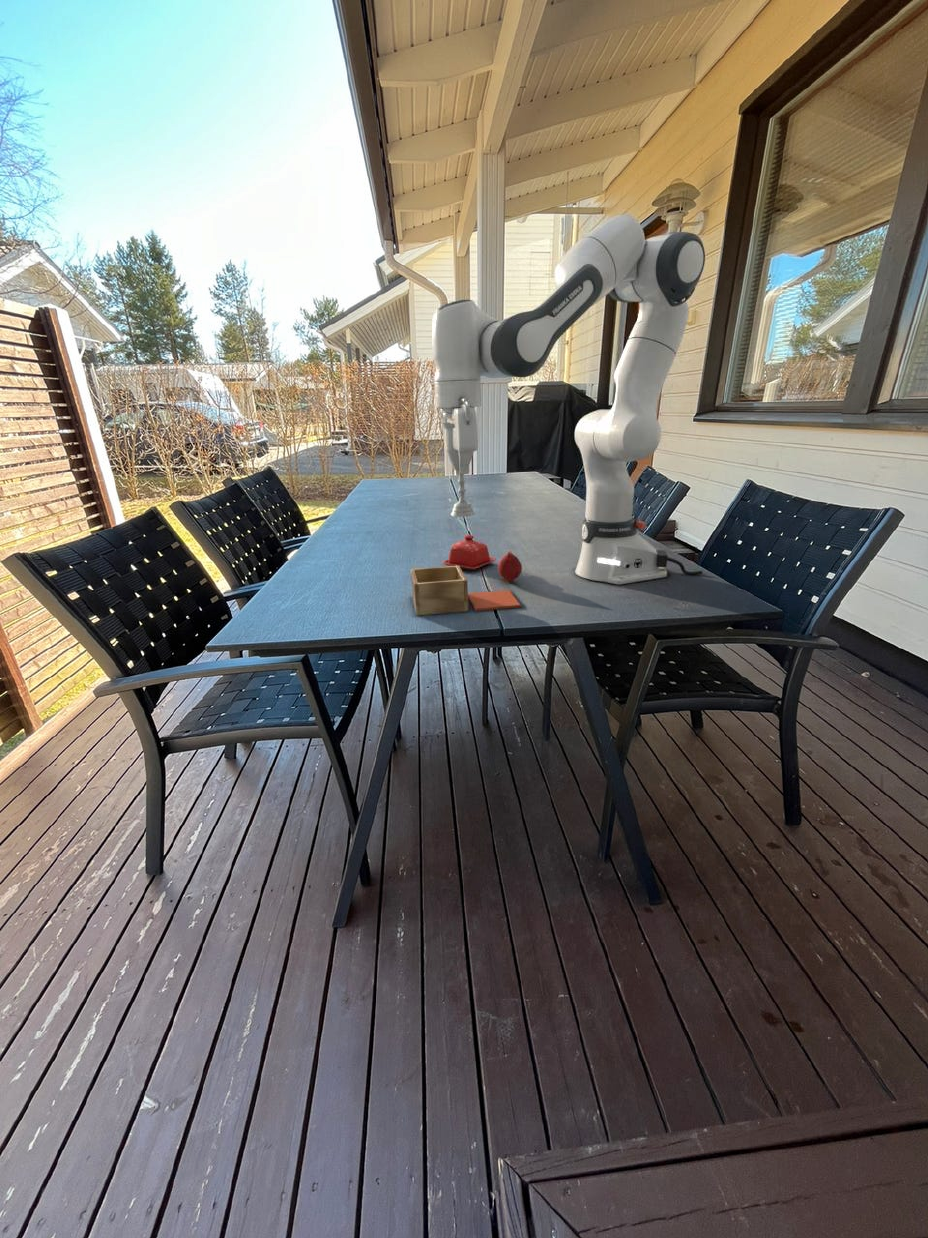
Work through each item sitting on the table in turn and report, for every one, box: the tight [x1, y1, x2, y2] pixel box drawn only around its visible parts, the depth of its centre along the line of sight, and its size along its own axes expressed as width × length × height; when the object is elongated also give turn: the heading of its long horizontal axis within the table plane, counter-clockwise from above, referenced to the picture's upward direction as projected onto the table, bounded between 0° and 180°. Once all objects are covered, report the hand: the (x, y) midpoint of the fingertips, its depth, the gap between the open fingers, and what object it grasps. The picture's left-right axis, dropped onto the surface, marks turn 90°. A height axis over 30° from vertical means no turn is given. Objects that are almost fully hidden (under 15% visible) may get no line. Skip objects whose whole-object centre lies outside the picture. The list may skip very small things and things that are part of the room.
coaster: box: [468, 589, 521, 612], centre depth 117 cm, size 10×10×1 cm
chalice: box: [441, 422, 476, 518], centre depth 106 cm, size 7×7×18 cm
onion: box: [497, 550, 523, 584], centre depth 128 cm, size 6×6×8 cm
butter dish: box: [441, 534, 497, 571], centre depth 142 cm, size 12×12×8 cm
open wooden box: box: [410, 565, 469, 616], centre depth 115 cm, size 11×11×7 cm
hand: (461, 471), depth 106 cm, fingers closed on chalice, 5 cm apart
